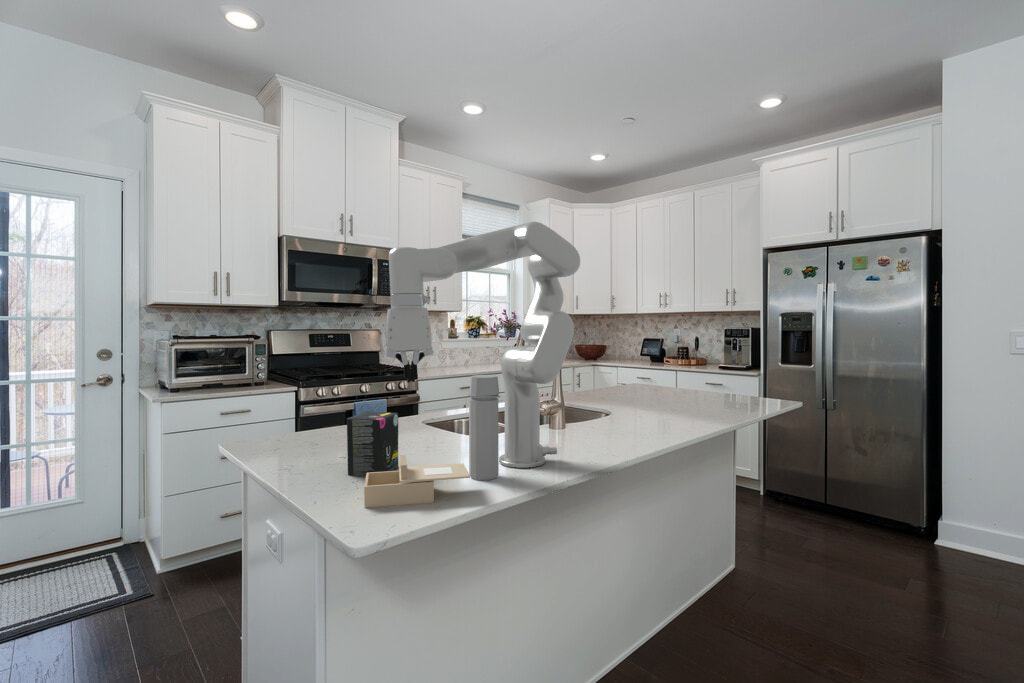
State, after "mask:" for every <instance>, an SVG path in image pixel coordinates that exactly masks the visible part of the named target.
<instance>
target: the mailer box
mask: <svg viewBox="0 0 1024 683" xmlns="http://www.w3.org/2000/svg"><path fill="white" fill-rule="evenodd" d="M434 481H435V480H433V481H427V482H421V481H419V482H414V483H407V482H405V483H400V477H399V470H393V471H386V472H370V473H367V474H366V477H365V480H364V485H363V486H364V487H363V488H364V490H363V494H364V509H367V508H370V509H371V508H380V507H381V508H382V507H390V506H391V507H395V506H405V505H407V506H408V505H417V504H419V505H420V504H433V503H434V502H435V484H434ZM399 483H400V484H399Z"/></svg>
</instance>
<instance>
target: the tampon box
mask: <svg viewBox="0 0 1024 683" xmlns="http://www.w3.org/2000/svg"><path fill="white" fill-rule="evenodd" d="M346 444H347V445H346V446H347V447H346V448H347V449H346V450H347V476H350V477H351V476H352V477H365V478H366V474H367V473H370V472H386V471H396V470H397V469H399V412H383V411H365V412H362V413H360V414H356V415H354V416H353V415H352V416H351V417H347V418H346Z"/></svg>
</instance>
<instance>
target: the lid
mask: <svg viewBox="0 0 1024 683" xmlns="http://www.w3.org/2000/svg"><path fill="white" fill-rule="evenodd" d="M399 460H400V462H399V463H400V467H398V471H399V477H400V483H405V482H419V481H442V480H443V481H444V480H460V479H461V480H462V479H470V478H471V477H470V475H469V470H468V469H467V467H466V465H465V463H450V464H434V465H433V464H431V465H418V466H408V462H407V455H406V454H401V455H400V459H399Z"/></svg>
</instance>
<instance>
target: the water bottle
mask: <svg viewBox="0 0 1024 683" xmlns="http://www.w3.org/2000/svg"><path fill="white" fill-rule="evenodd" d="M469 381H470V382H469V383H470V384H469V390H468V392H469V394H467V395H468V397H470V398H469V399H468V412H469V413H468V423H469V424H468V429H469V430H468V435H469V436H468V438H469V440H468V444H469V445H468V447H469V448H468V451H469V452H468V454H469V455H468V456H469V457H468V459H469V462H468V464H469V466H468V467H469V468H468V469H469V470H468V473H469V475H470V478H471V480H474V481H481V482H482V481H483V482H484V481H491V480H495V479H497V478H498V477H499V474H500V473H499V471H500V470H499V467H500V466H499V464H500V463H499V398H501V396H500V387H499V385H500V384H499V377H498V375H495V374H477V375H471V376H470V380H469Z"/></svg>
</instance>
